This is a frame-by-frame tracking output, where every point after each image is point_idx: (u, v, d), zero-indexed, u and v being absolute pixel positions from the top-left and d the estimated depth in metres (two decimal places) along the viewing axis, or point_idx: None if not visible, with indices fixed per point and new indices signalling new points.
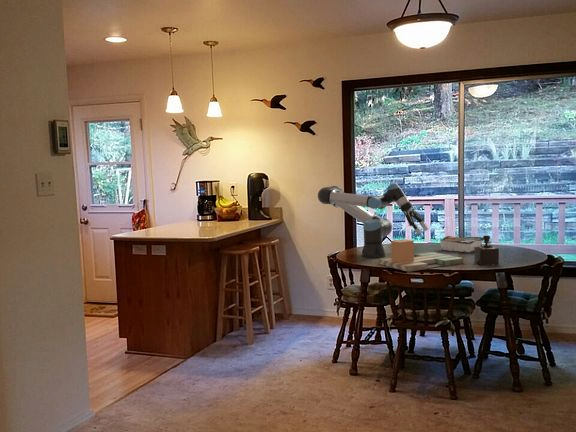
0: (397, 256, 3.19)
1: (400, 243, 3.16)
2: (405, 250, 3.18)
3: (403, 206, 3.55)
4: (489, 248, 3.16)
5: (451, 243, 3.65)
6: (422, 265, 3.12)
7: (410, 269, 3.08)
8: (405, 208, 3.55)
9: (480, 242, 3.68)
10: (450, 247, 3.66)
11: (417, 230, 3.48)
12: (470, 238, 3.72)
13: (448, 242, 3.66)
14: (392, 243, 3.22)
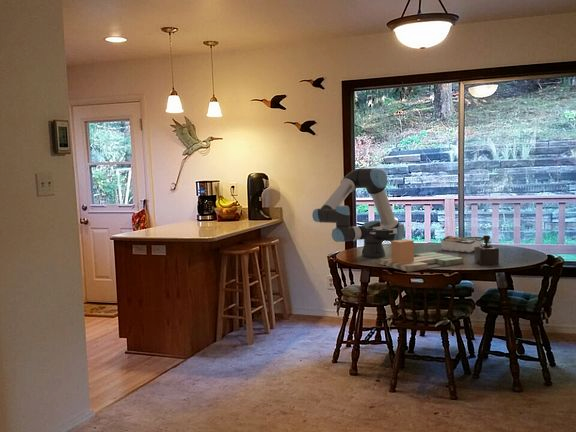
0: (397, 256, 3.19)
1: (400, 243, 3.16)
2: (405, 250, 3.18)
3: None
4: (489, 248, 3.16)
5: (452, 243, 3.65)
6: (422, 265, 3.12)
7: (410, 269, 3.08)
8: None
9: (481, 242, 3.68)
10: (451, 247, 3.66)
11: None
12: (471, 238, 3.72)
13: (449, 242, 3.66)
14: (392, 243, 3.22)
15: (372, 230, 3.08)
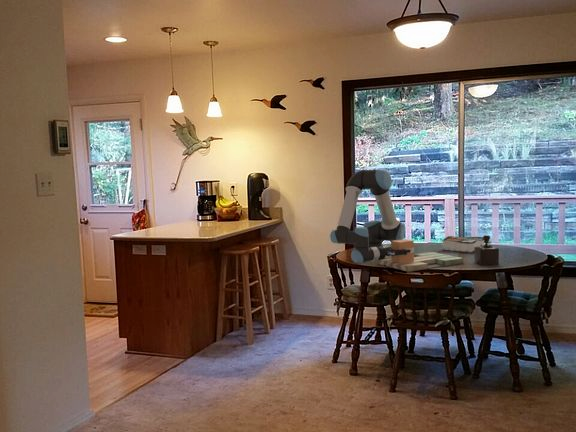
0: (397, 256, 3.19)
1: (400, 243, 3.16)
2: None
3: None
4: (489, 248, 3.16)
5: (453, 243, 3.65)
6: (422, 265, 3.12)
7: (410, 269, 3.08)
8: None
9: (482, 242, 3.68)
10: (452, 247, 3.66)
11: None
12: (472, 238, 3.73)
13: (450, 242, 3.66)
14: (392, 243, 3.22)
15: (390, 250, 3.15)
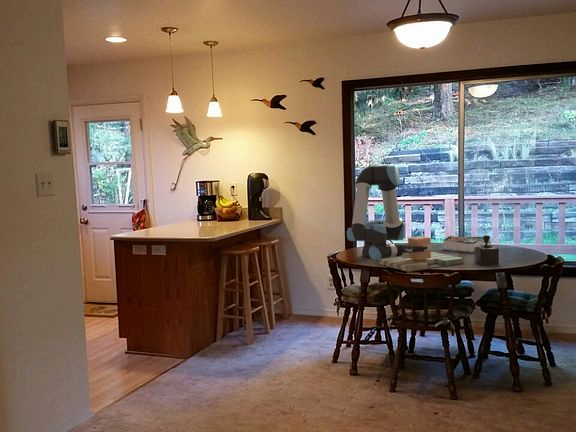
0: (414, 253, 3.22)
1: (417, 240, 3.19)
2: None
3: None
4: (489, 248, 3.16)
5: (454, 243, 3.65)
6: (422, 265, 3.12)
7: (410, 269, 3.08)
8: None
9: (483, 242, 3.68)
10: (453, 247, 3.66)
11: None
12: (473, 238, 3.73)
13: (451, 242, 3.66)
14: (409, 240, 3.25)
15: (408, 247, 3.18)
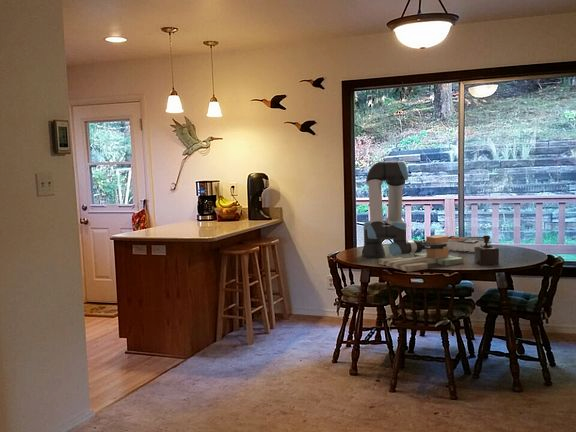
0: (432, 251, 3.30)
1: (436, 238, 3.28)
2: None
3: None
4: (489, 248, 3.16)
5: (455, 243, 3.65)
6: (422, 265, 3.12)
7: (410, 269, 3.08)
8: None
9: None
10: (454, 247, 3.66)
11: None
12: (474, 238, 3.73)
13: (452, 242, 3.67)
14: (427, 238, 3.33)
15: (426, 244, 3.26)
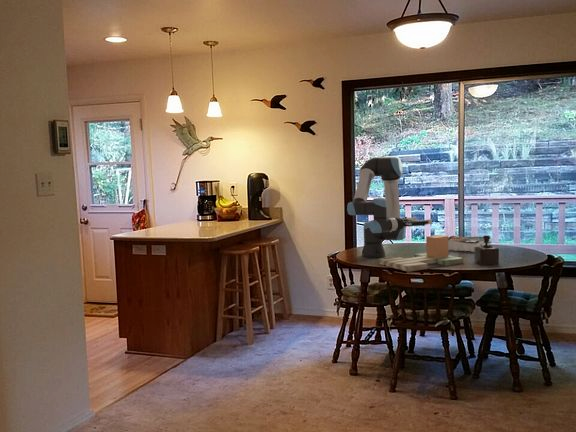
0: (432, 251, 3.30)
1: (436, 238, 3.28)
2: (441, 245, 3.30)
3: None
4: (489, 248, 3.16)
5: (456, 243, 3.65)
6: (422, 265, 3.12)
7: (410, 269, 3.08)
8: None
9: None
10: (455, 247, 3.66)
11: None
12: (475, 238, 3.73)
13: (453, 242, 3.67)
14: (427, 238, 3.33)
15: (408, 221, 3.18)
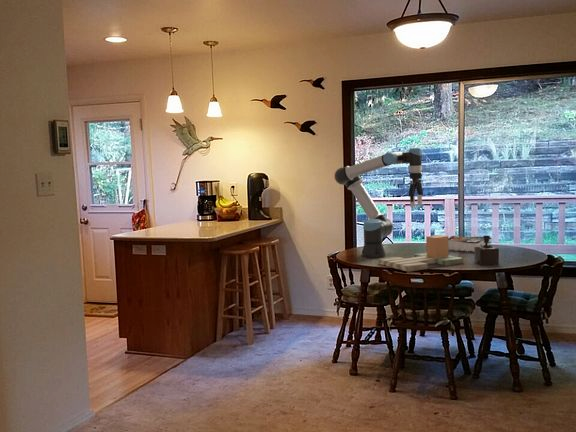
0: (432, 251, 3.30)
1: (436, 238, 3.28)
2: (441, 245, 3.30)
3: (413, 174, 3.48)
4: (489, 248, 3.16)
5: (457, 243, 3.65)
6: (422, 265, 3.12)
7: (410, 269, 3.08)
8: (414, 177, 3.48)
9: None
10: (456, 247, 3.66)
11: (412, 203, 3.47)
12: (475, 238, 3.73)
13: (454, 242, 3.67)
14: (427, 238, 3.33)
15: None
